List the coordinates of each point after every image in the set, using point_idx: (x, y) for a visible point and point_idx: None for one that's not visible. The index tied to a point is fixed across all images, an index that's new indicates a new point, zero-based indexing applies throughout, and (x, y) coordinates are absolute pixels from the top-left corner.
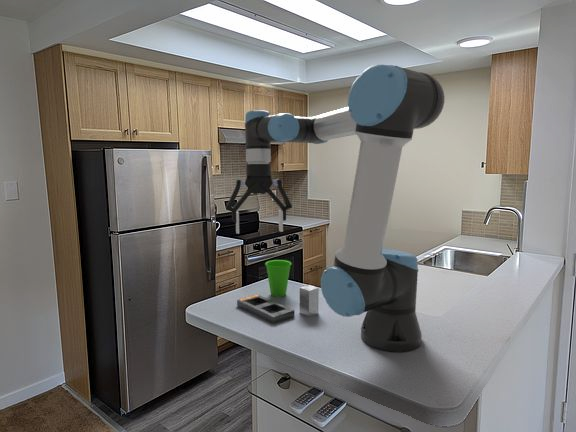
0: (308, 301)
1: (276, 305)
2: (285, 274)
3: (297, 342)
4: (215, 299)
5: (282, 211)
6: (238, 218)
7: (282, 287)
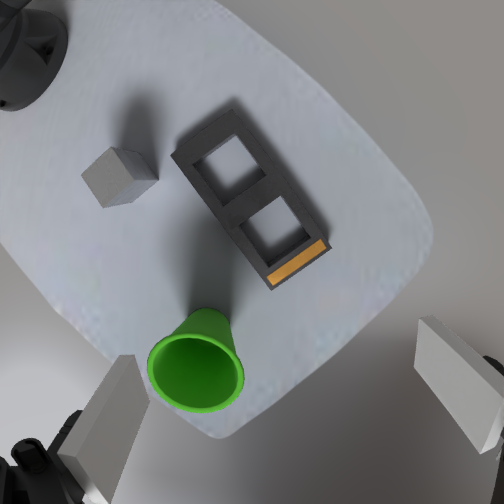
0: (124, 150)
1: (217, 198)
2: (174, 331)
3: (188, 25)
4: (381, 299)
5: (60, 451)
6: (478, 369)
7: (192, 315)
